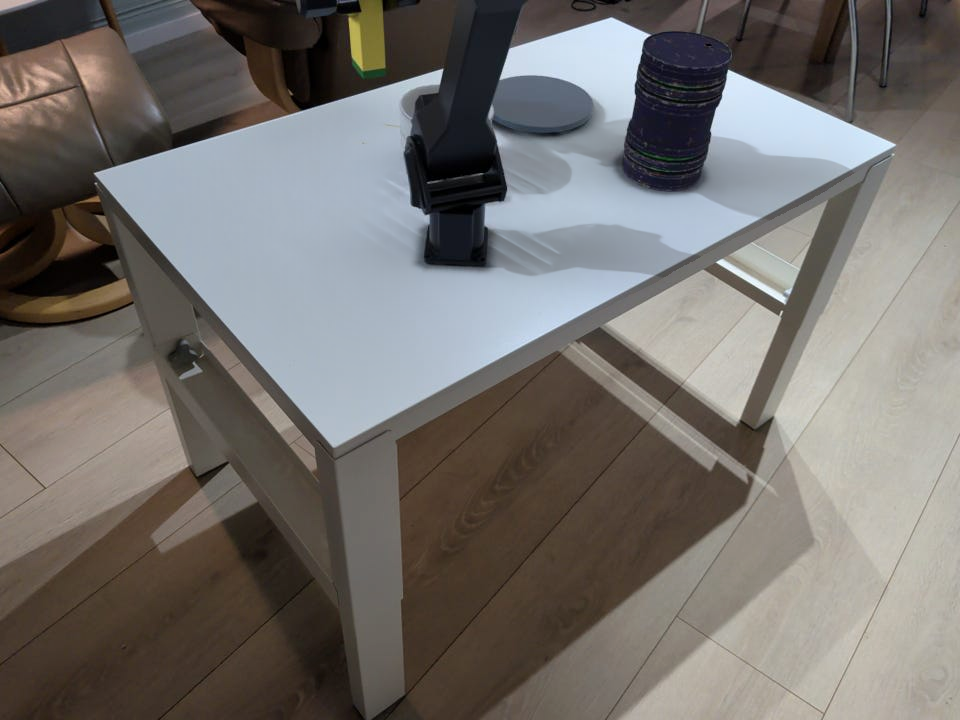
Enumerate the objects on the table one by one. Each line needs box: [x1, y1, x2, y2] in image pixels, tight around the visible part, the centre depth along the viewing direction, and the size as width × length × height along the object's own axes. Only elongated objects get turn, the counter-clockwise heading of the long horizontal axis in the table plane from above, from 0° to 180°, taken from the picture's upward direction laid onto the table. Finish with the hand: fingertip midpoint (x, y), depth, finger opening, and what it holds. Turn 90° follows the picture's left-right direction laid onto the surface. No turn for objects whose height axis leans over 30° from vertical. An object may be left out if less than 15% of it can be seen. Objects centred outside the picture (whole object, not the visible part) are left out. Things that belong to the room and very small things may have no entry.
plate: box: [492, 74, 594, 134], centre depth 107 cm, size 15×15×1 cm
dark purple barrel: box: [621, 30, 733, 192], centre depth 92 cm, size 10×10×15 cm
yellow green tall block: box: [348, 0, 387, 80], centre depth 97 cm, size 3×4×14 cm, turn 25°
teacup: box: [398, 84, 494, 180], centre depth 93 cm, size 14×11×8 cm
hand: (362, 12), depth 97 cm, fingers closed on yellow green tall block, 3 cm apart
